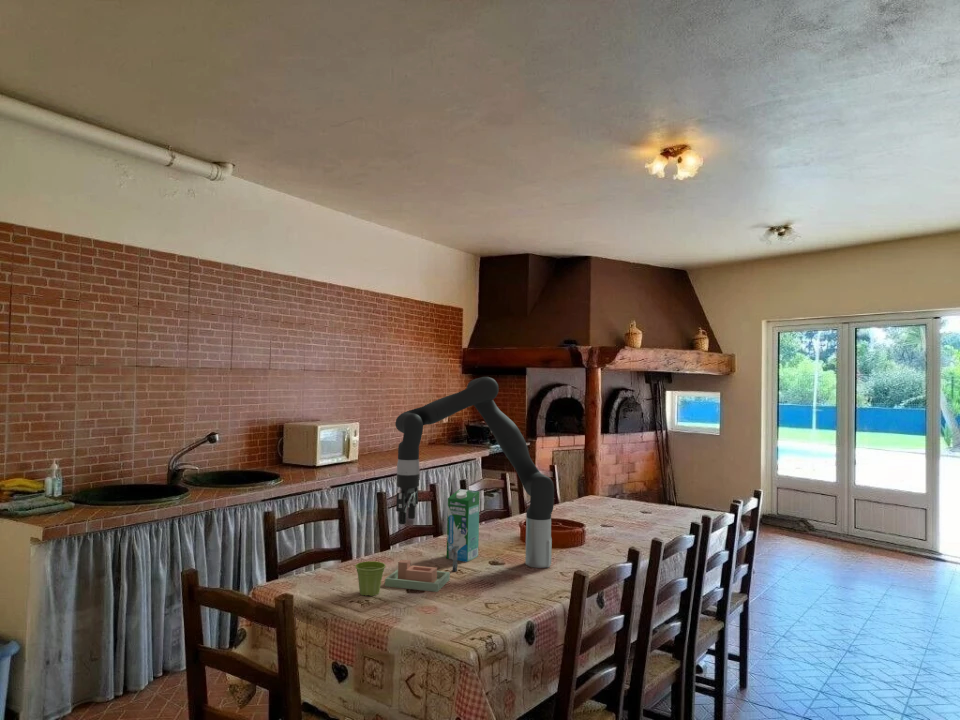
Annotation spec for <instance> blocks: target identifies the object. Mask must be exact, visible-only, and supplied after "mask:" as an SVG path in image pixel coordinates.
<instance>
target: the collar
mask: <svg viewBox="0 0 960 720" xmlns="http://www.w3.org/2000/svg"><path fill="white" fill-rule="evenodd" d="M397 563H398V564H397V565H398V566H397V569H398V579H403V580H412V581H422V582H431V583H434V582H435V581H436V580H437V571H438V567H434V566H433V567H432V566H424V565H423V566H421V565H413V564H412V565H411V560H410V559H401V560H398V561H397Z"/></svg>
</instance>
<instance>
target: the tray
mask: <svg viewBox="0 0 960 720" xmlns="http://www.w3.org/2000/svg"><path fill="white" fill-rule="evenodd" d="M450 577H451V572H450V571H442V570H437V580H436V581H435V582H434V583H431V582H422V581H412V580H403V579H398V568H397V569H396V570H395V571H393V572H392V573H390V574H389V575H388V576H386V577H385V578H384V586H385V587H391V588H397V589H407V590H416V591H417V590H418V591H426V592H427V591H428V592H434V593H435V592H436V593H437V592H439V591H440V590H441V589H442V588H443V587H444V586H446V584H447V583H448V582H449V581H450V580H451V579H450Z"/></svg>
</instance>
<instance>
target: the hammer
mask: <svg viewBox="0 0 960 720" xmlns="http://www.w3.org/2000/svg"><path fill="white" fill-rule="evenodd" d="M458 550H459V546H455V547H453V548H452V553H453V559H452V572H458V560H457V552H458Z"/></svg>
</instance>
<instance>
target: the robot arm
mask: <svg viewBox="0 0 960 720" xmlns="http://www.w3.org/2000/svg"><path fill="white" fill-rule="evenodd" d="M498 394H499V384H498V382H497V381H496V380H495V379H494V378H492V377H491V376H490V377H489V376H481V377H476V378H475V379H472V380H470V381H468V383H467V385H466V388H465V389H463V390H461V391H458V392H456V393H452V394H449V395H447V396H443V397H442V398H438V399H435V400H434V401H432V402H429V403H426V404H425V405H423V406H421V407H416V408H412V409H410V410H407V411H404V412H402V413H400V414H399V415H398V416H397V417H396V419H395V428H396V429H397V430H398V431H399V432H400V433H401V434H403V437H402V441H400V442H399V443H398V447H397V464H396V486H397V488H400V492H397V493H396V504H395V512H397V513H398V524H399V525H406V523H407V518H408V519H410V520H411V519H412V520H414V519H416V507H417V505H418V503H419V486H420V445H421V441H422V436H423V430H424V426H427V425H433V424H435V423H438V422H440V421H443V420H444V419H446V418H448V417H451V416H452V415H455V414H456V413H459V412H460V411H463V410H465V409H467V408H470V407H473V406H474V407H475V409H476V411H478V413H479V415H480V416H481V417H482V418H483V420H484V421H485V423H486V425H487V427H488V429H489V431H491V433H492V435H493V437H494V439H495V440H496V442H497V444H498V446H499V447H500V449H501V451H502V452H503V454H504V455H505V456H506V458H507V460H508V461H509V462H510V464H511V465H512V467H513V468H514V470H515V471H516V473H517V476H518V477H519V480H520V482H521V484H522V487H523V490H525V492H526V493H527V495H529V496H530V498H529V499H530V501H529V507H528V508H527V509H526V513H525V514H526V515H525V516H526V517H525V522H526V523H525V524H526V525H525V563H524V564H525V565H526V566H527V567H530V568H539V569H540V568H541V569H543V568H550V567H551V564H552V549H553V548H552V544H553V542H552V541H553V539H552V513H553V511H554V504H555V503H554V501H555V484H554V481H553V480H552V478H551V477H549V476H548V475H545V474H543V473H541V471H540V470H539V469H538V467H537V466H536V465H535V463H534V462H533V460H532V458H531V456H530V452H529V448H528V444H527V442H526V439H525V438H524V436H523V434H522V433H521V430H520V428H519V427H518V426H517V425H516V424H515V422H514V421H513V420H512V419H510V418H509V416H507V415H506V414H505V413H504V412H503V411H501V410H500V408H499V407H498V406H497V404H496V403H495V401H494V400H495V399H496V398H497V396H498ZM407 513H408V514H407Z"/></svg>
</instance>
